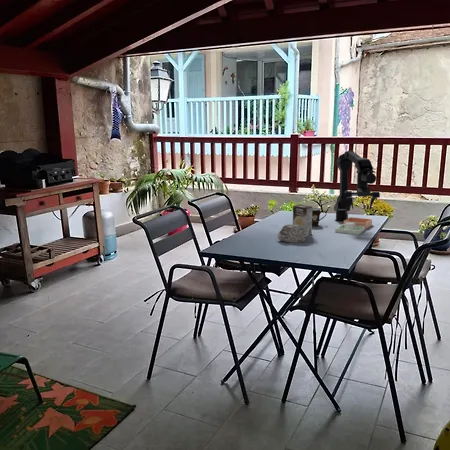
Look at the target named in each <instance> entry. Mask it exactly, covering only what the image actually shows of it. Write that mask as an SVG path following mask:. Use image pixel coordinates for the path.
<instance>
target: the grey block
mask: <svg viewBox="0 0 450 450" xmlns="http://www.w3.org/2000/svg"><path fill="white" fill-rule="evenodd" d="M355 225H356V223H353V222H347V223H345V229H347V230H355Z"/></svg>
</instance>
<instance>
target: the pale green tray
mask: <svg viewBox="0 0 450 450" xmlns="http://www.w3.org/2000/svg"><path fill="white" fill-rule="evenodd" d="M365 230H366V229H365V227H364V226H355V230H347V229H345V224H344V223H342V224H340V225H339V226H336V227H335V229H334V232H335V233H340V234H350V235H360V234H361V233H363V232H364V231H365Z"/></svg>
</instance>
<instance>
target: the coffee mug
mask: <svg viewBox="0 0 450 450" xmlns="http://www.w3.org/2000/svg"><path fill="white" fill-rule="evenodd" d="M322 212H324V213H325V215H324V216H323V217H321V214H322ZM326 216H327V211H326V210H321V208H320V207H313V208H312V228H313V227H318V226H320V225H319V224H320V223H319V222H320V221H321V220H323V219H324V218H326ZM320 217H321V218H320Z"/></svg>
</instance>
